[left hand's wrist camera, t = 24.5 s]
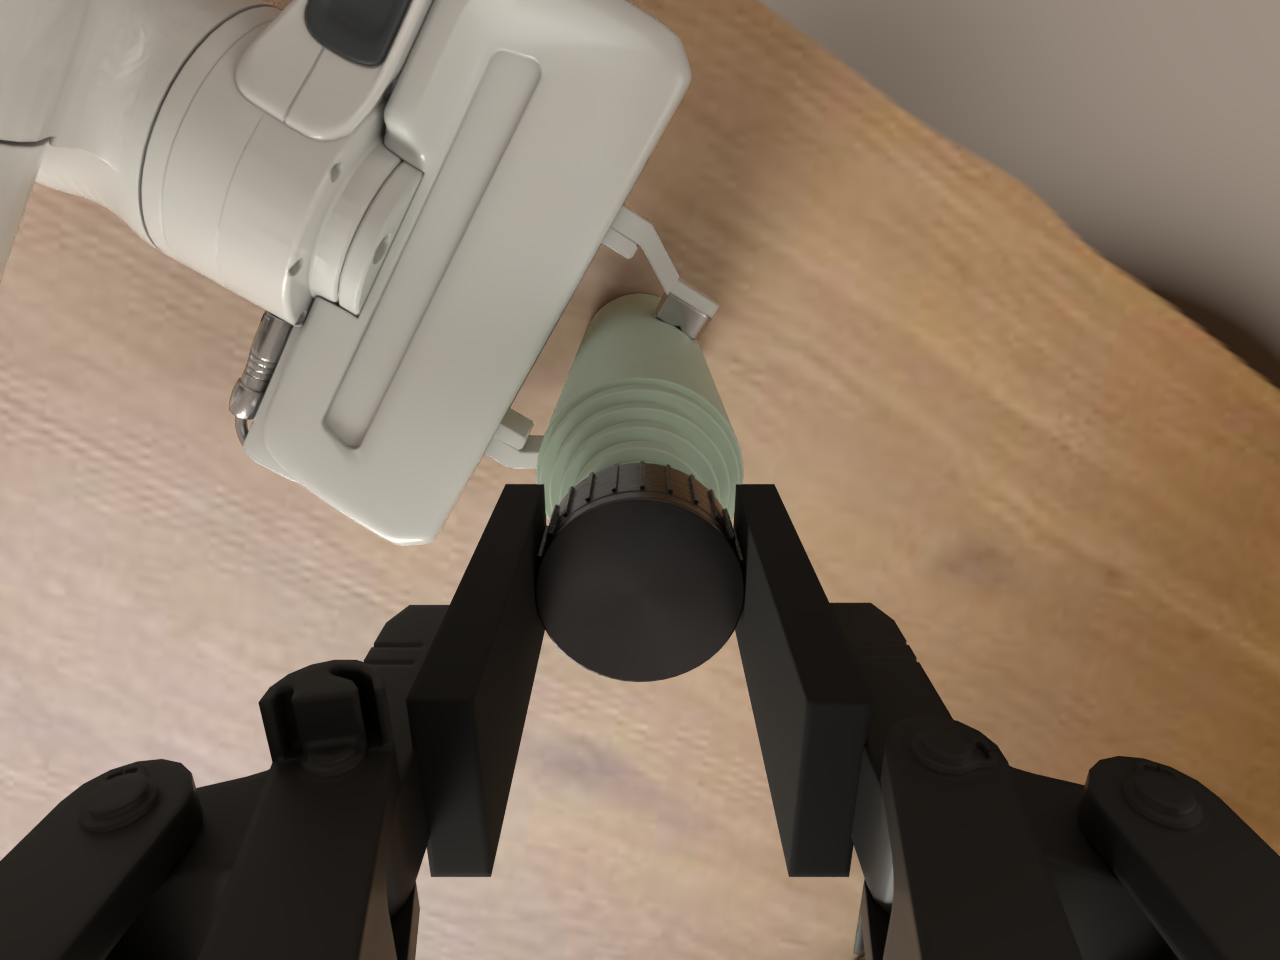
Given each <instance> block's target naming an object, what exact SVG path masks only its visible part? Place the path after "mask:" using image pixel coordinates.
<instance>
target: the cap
mask: <svg viewBox="0 0 1280 960" xmlns="http://www.w3.org/2000/svg"><path fill="white" fill-rule="evenodd" d="M537 559H539V560H540V561H539V564H538V568H537V573H536V578H535V600H536V606H537V610H538V614H539V617H540V619H541V622H542V624H543V626H544V628H545V630H546V631H547V633H548V635H549V636H550V638H551V639H552V641H553V642H554V643H555V644H556V646H557V647H558V648H559V649H560V650H561V651H562V652H563V653H564V654H565V655H566V656H568V657H569V658H570V659H572V660H573V661H574V662H576V663H577V664H579V665H580V666H582V667H584V668H586V669H587V670H590V671H592V672H594V673H596V674H599V675H602V676H605V677H608V678H612V679H617V680H622V681H633V682H648V681H657V680H664V679H668V678H671V677H675V676H678V675H681V674H683V673H686V672H688V671H690V670H692V669H694V668H696V667H698V666H700V665H701V664H703V663H704V662H706V661H707V660H709V659H710V658H711V657H712V656H713V655H714V654H716V653H717V652H718V651H719V650H720V649H721V648H722V647H723V645H724V644H725V643H726V642H727V641H728V639H729V638H730V636H731V635H732V633H733V632H734V630H735V628H736V626H737V624H738V622H739V620H740V617H741V613H742V610H743V606H744V600H745V579H744V572H743V568H742V565H741V564H743V563H744V559H743V556H742V552H741V549H740V545H739V542H738V538H737V535H736V531H735V530H733V527H732V523H731V520H730V516H729V513H728V510H727V508H725V509H723V507H722V505H721V504H720V502H719V501H718V499H717V498H716V497H715V494H714V491H713V490H712V489H710V490H709V489H707V488H706V487H705V486H704V485H703V484H702V483H700V482H699V481H697V480H696V479H695V476H694V475H692V474H690V475H688V474H686V473H684V472H682V471H680V470H677V469H674V468H671V465H668V464H666V466H663V465H659V464H652V463H645V461H640V463H628V464H621V465H619V464H618V463H616V464H614V466H613V467H609V468H606V469H603V470H601V471H599V472H596V473H594V472H591V473H590V474H589V477H587V478H585V479H584V480H582V481H581V482H580V483H578V484H577V485H576V486H575V487H573V486H571V487H570V488H569V491H568V494H567V495H566V496H565V497H564V498H563V500H562V501H561V502H560V504H559V505H557V504H556V505H555V506H554V509H553V513H552V516H551V520H550V524H549V526H546V527H545V531H544V534H543V538H542V541H541V545H540V548H539V552H538V555H537Z"/></svg>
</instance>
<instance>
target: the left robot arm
mask: <svg viewBox="0 0 1280 960" xmlns="http://www.w3.org/2000/svg"><path fill="white" fill-rule="evenodd" d="M545 527H546V510H545V491H544V484H506V485H505V487H504V489H503V491H502V493H501V496H500V498H499V500H498V502H497V504H496V506H495V509H494V511H493V513H492V515H491V517H490V519H489V521H488V524H487V526H486V528H485V530H484V532H483V534H482V537H481V539H480V541H479V543H478V545H477V547H476V550H475V552H474V554H473V556H472V558H471V560H470V562H469V565H468V567H467V569H466V571H465V573H464V575H463V578H462V580H461V582H460V584H459V586H458V588H457V591H456V593H455V595H454V597H453V599H452V601H451V603H450V605H409V606H408V607H406V608H405V609H404V610H402V611H401V612H400V613H398V614H397V615H396V616H394V617H393V618H392V619H391V620H389V621H388V622H387V623H386V624H385V626H384V627H383V629H382V631H381V632H380V634H379V636H378V637H377V639H376V641H375V643H374V647H372V648H371V649H370V651H369V653H368V654H367V656H366V658H365V659H364V662H361V661H358V660H332V661H327V662H322V663H317V664H313V665H309V666H307V667H305V668H302V669H300V670H298V671H295V672H293V673H290V674H288V675H287V676H285V677H284V678H283V679H281V680H280V681H278V682H277V683H275V684H274V685H273V686H271V687H270V688H269V689H268V691H267V692H266V693H265V695H264V696H263V697H262V698H261V700H260V701H259V706H260V711H261V715H262V719H263V723H264V728H265V732H266V736H267V741H268V745H269V749H270V753H271V758H272V762H273V763H272V765H271V768H270V769H269V770H267V771H264V772H261V773H257V774H254V775H251V776H247V777H243V778H239V779H235V780H230V781H226V782H221V783H217V784H213V785H208V786H204V787H200V788H196V787H195V783H194V780H193V776H192V773H191V772H190V771H189V770H188V769H187V768H186V767H185V766H184V765H182V764H181V763H178V762H174V761H169V760H164V759H158V760H148V761H138V762H135V763H131V764H128V765H125V766H122V767H119V768H115V769H112V770H110V771H108V772H106V773H104V774H102V775H100V776H98V777H96V778H94V779H92V780H90V781H88V782H86V783H85V784H83V785H82V786H80V787H79V788H78V789H76V790H75V791H74V792H73V793H71V794H70V795H69V796H68V797H66V798H65V799H64V800H62V801H61V802H60V803H59V804H58V805H57V806H56V807H55V808H54V809H53V810H52V811H51V812H50V813H49V814H48V815H47V816H46V817H45V818H44V819H43V820H42V821H41V822H40V823H39V824H38V825H37V826H36V827H35V828H34V829H33V830H32V831H31V832H30V833H29V834H28V835H26V836H25V837H24V838H23V839H22V840H21V841H20V842H19V843H18V844H17V845H16V846H15V847H14V848H13V849H12V850H11V851H10V852H9V853H8V854H7V855H6V856H5V857H4V858H3V859H2V860H1V861H0V960H415V954H416V944H417V933H418V923H419V912H420V907H419V900H418V893H417V886H416V878H417V875H418V872H419V869H420V866H421V863H422V860H423V857H424V853H425V850H426V847H427V852H428V859H429V866H430V872H431V877H491V874H492V870H493V865H494V860H495V856H496V851H497V847H498V842H499V838H500V833H501V828H502V824H503V819H504V815H505V810H506V805H507V801H508V796H509V792H510V787H511V783H512V778H513V773H514V769H515V764H516V760H517V755H518V751H519V746H520V741H521V737H522V732H523V728H524V723H525V719H526V714H527V709H528V705H529V700H530V696H531V691H532V687H533V682H534V677H535V673H536V668H537V664H538V659H539V654H540V650H541V645H542V641H543V636H544V632H545V628H544V626H543V624H542V622H541V619H540V617H539V614H538V610H537V606H536V600H535V578H536V573H537V568H538V564H539V561H540V560H539V559H537V555H538V552H539V548H540V545H541V541H542V538H543V534H544V531H545ZM733 530H735V531H736V535H737V538H738V542H739V545H740V549H741V552H742V556H743V559H744V563H743V564H741V565H742V568H743V572H744V579H745V600H744V606H743V610H742V613H741V617H740V620H739V622H738V624H737V626H736V628H735V632H736V636H737V641H738V645H739V650H740V654H741V659H742V664H743V668H744V673H745V677H746V682H747V687H748V691H749V696H750V700H751V705H752V709H753V714H754V719H755V723H756V728H757V732H758V737H759V741H760V746H761V751H762V755H763V760H764V764H765V769H766V773H767V778H768V783H769V787H770V792H771V796H772V801H773V806H774V810H775V815H776V819H777V824H778V828H779V833H780V838H781V842H782V847H783V851H784V856H785V860H786V865H787V870H788V874H789V877H849V872H850V865H851V859H852V852H853V845H854V847H855V850H856V853H857V856H858V859H859V862H860V865H861V868H862V871H863V874H864V877H865V880H864V886H863V893H862V899H861V906H860V912H859V919H858V925H857V931H856V938H855V945H854V952H853V953H856V954H862V955H863V951H864V952H865V955H864V956H863V957H861V958H860V959H859V960H1280V856H1279V855H1278V854H1277V853H1276V852H1275V851H1274V850H1273V849H1272V848H1271V847H1270V846H1268V845H1267V844H1266V843H1265V842H1264V841H1263V840H1262V839H1261V838H1260V837H1259V836H1258V835H1257V834H1256V833H1255V832H1254V831H1253V830H1252V829H1251V828H1250V827H1249V826H1248V825H1247V824H1246V823H1245V822H1244V821H1243V820H1242V819H1241V818H1240V817H1239V816H1238V815H1237V814H1236V813H1235V812H1234V811H1233V810H1232V809H1231V808H1230V807H1229V806H1228V805H1227V804H1226V803H1224V802H1223V801H1222V800H1221V799H1220V798H1219V797H1218V796H1216V795H1215V794H1214V793H1213V792H1211V791H1210V790H1209V789H1207V788H1206V787H1205V786H1204V785H1202V784H1201V783H1200V782H1198V781H1197V780H1195V779H1193V778H1191V777H1189V776H1187V775H1185V774H1183V773H1181V772H1179V771H1177V770H1176V769H1174V768H1172V767H1169V766H1166V765H1163V764H1160V763H1156V762H1153V761H1150V760H1147V759H1143V758H1134V757H1124V756H1116V757H1112V758H1107V759H1102V760H1099V761H1098V762H1097V763H1096V764H1095V765H1094V766H1093V767H1092V768H1091V769H1090V770H1089V773H1088V776H1087V780H1086V783H1085V785H1081V784H1076V783H1072V782H1068V781H1063V780H1059V779H1054V778H1050V777H1046V776H1041V775H1037V774H1033V773H1030V772H1026V771H1023V770H1020V769H1016V768H1013V767H1011V766H1009V764H1008V761H1007V760H1006V758H1005V757H1004V755H1003V754H1002V752H1001V751H1000V749H999V748H998V746H997V745H996V744H995V743H993V742H992V741H991V740H990V739H988V738H987V737H986V736H985V735H983V734H982V733H981V732H980V731H978V730H976V729H974V728H971V727H969V726H967V725H965V724H963V723H961V722H959V721H956V720H953V718H952V717H951V715H950V713H949V712H948V710H947V708H946V707H945V705H944V703H943V702H942V700H941V698H940V697H939V695H938V693H937V691H936V690H935V688H934V686H933V685H932V683H931V681H930V680H929V678H928V676H927V675H926V673H925V671H924V670H923V668H922V666H921V665H920V663H919V662H917V660H916V656H915V655H914V653H913V651H912V650H911V648H910V646H909V645H907V644H906V640H905V638H904V636H903V635H902V633H901V631H900V629H899V628H898V626H897V624H896V623H895V621H894V620H893V619H892V618H890V617H889V616H888V615H886V614H885V613H884V612H882V611H881V610H880V609H878V608H877V607H876V606H874V605H873V604H872V603H829V601H828V599H827V597H826V595H825V593H824V591H823V588H822V586H821V584H820V582H819V580H818V578H817V575H816V573H815V571H814V569H813V567H812V565H811V562H810V560H809V558H808V556H807V554H806V552H805V550H804V547H803V545H802V543H801V541H800V539H799V537H798V534H797V532H796V530H795V528H794V526H793V524H792V521H791V519H790V517H789V515H788V513H787V511H786V509H785V506H784V504H783V502H782V500H781V498H780V496H779V493H778V491H777V489H776V487H775V485H774V484H736V490H735V510H734V529H733Z"/></svg>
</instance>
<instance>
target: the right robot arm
mask: <svg viewBox="0 0 1280 960" xmlns="http://www.w3.org/2000/svg"><path fill="white" fill-rule="evenodd" d="M691 79H692V74H691V69H690V65H689V61H688V57H687V53H686V50H685V47H684V45H683V42H682V41H681V39H680V38H679V37H678V36H677V34H676V33H674V32H673V31H672V30H671V29H670V28H668V27H667V26H665V25H664V24H663V23H661V22H660V21H658V20H657V19H656V18H654V17H653V16H651V15H649V14H648V13H646V12H645V11H643V10H641V9H640V8H638V7H637V6H635V5H633V4H632V3H630V2H629V1H627V0H292V1H291V2H290V3H289V4H288V5H287V6H286V7H285V8H284V9H283V10H282V9H280V8H278V7H277V6H275V5H273V4H271V3H269V2H267V1H265V0H0V282H1V279H2V276H3V273H4V270H5V267H6V265H7V262H8V259H9V256H10V253H11V250H12V247H13V244H14V241H15V238H16V235H17V232H18V229H19V226H20V224H21V221H22V218H23V215H24V212H25V209H26V206H27V203H28V200H29V197H30V194H31V191H32V188H33V185H34V183H35V182H37V183H39V184H41V185H44V186H46V187H49V188H52V189H55V190H59V191H62V192H66V193H70V194H74V195H78V196H81V197H84V198H87V199H90V200H92V201H94V202H96V203H98V204H100V205H102V206H103V207H105V208H107V209H109V210H110V211H112V212H113V213H114V214H116V215H117V216H118V217H119V218H120V219H122V220H123V221H124V222H125V223H126V224H127V225H128V226H129V227H130V228H131V229H132V230H133V231H134V232H135V233H136V234H137V235H138V236H139V237H141V238H142V239H143V240H144V241H145V242H146V243H148V244H149V245H151V246H152V247H154V248H156V249H157V250H159V251H160V252H162V253H164V254H165V255H168V256H170V257H171V258H173V259H175V260H177V261H179V262H180V263H182V264H184V265H186V266H187V267H189V268H191V269H193V270H195V271H196V272H198V273H200V274H202V275H204V276H205V277H207V278H209V279H211V280H213V281H215V282H216V283H218V284H220V285H222V286H224V287H225V288H227V289H229V290H231V291H233V292H234V293H236V294H238V295H239V296H241V297H243V298H245V299H247V300H248V301H250V302H252V303H254V304H256V305H258V306H259V307H261V308H263V309H265V312H264V314H263V317H262V319H261V323H260V325H259V328H258V330H257V332H256V335H255V337H254V340H253V343H252V346H251V349H250V353H249V358H248V361H247V364H246V367H245V370H244V372H243V375H242V377H241V378H239V379H238V381H237V382H236V384H235V386H234V388H233V391H232V394H231V397H230V402H229V411H230V412H231V413H232V414H233V415H235V428H236V432H237V435H238V438H239V440H240V442H241V444H242V445H243V450H244V452H245V453H246V454H247V455H248V457H250V458H251V459H252V460H254V461H255V462H256V463H258V464H260V465H262V466H264V467H266V468H268V469H269V470H271V471H273V472H275V473H277V474H279V475H281V476H283V477H285V478H287V479H289V480H292V481H295V482H298V483H300V484H301V485H302V486H304V487H305V488H306V489H308V490H309V491H311V492H312V493H313V494H315V495H316V496H318V497H319V498H320V499H322V500H323V501H325V502H326V503H328V504H329V505H330V506H332V507H333V508H335V509H336V510H338V511H340V512H341V513H343V514H344V515H346V516H347V517H349V518H350V519H352V520H353V521H355V522H357V523H358V524H360V525H362V526H363V527H365V528H366V529H368V530H370V531H372V532H373V533H375V534H377V535H378V536H380V537H382V538H384V539H386V540H388V541H390V542H391V543H394V544H396V545H399V546H411V545H421V544H428V543H431V542H433V541H434V540H435V539H436V537H437V536H438V534H439V533H440V531H441V529H442V528H443V526H444V524H445V523H446V521H447V519H448V517H449V516H450V514H451V512H452V510H453V508H454V507H455V505H456V503H457V501H458V499H459V498H460V496H461V494H462V492H463V491H464V489H465V487H466V485H467V483H468V482H469V480H470V478H471V476H472V474H473V473H474V471H475V469H476V467H477V465H478V464H479V462H480V460H481V458H482V456H483V455H484V454H485V455H487V456H489V457H491V458H492V459H494V460H496V461H498V462H500V463H502V464H503V465H505V466H507V467H509V468H511V469H536V468H537V460H538V454H539V450H540V447H541V443H542V441H543V438H544V436H537V435H529V434H530V432H531V430H532V428H533V425H534V424H533V421H532V420H530V419H528V418H526V417H525V416H523V415H521V414H519V413H518V412H516V411H514V410H513V409H511V408H510V406H511V405H512V403H513V401H514V399H515V397H516V396H517V394H518V392H519V390H520V388H521V387H522V385H523V383H524V381H525V380H526V378H527V376H528V374H529V372H530V371H531V369H532V367H533V365H534V363H535V362H536V360H537V358H538V356H539V354H540V353H541V351H542V349H543V347H544V346H545V344H546V342H547V340H548V338H549V337H550V335H551V333H552V331H553V329H554V328H555V326H556V324H557V322H558V321H559V319H560V317H561V315H562V313H563V312H564V310H565V308H566V306H567V304H568V303H569V301H570V299H571V297H572V296H573V294H574V292H575V290H576V288H577V287H578V285H579V283H580V281H581V279H582V278H583V276H584V274H585V272H586V270H587V269H588V267H589V265H590V263H591V262H592V260H593V258H594V256H595V254H596V253H597V251H598V249H599V247H600V245H601V244H602V243H603V244H604V245H606V246H607V247H609V248H611V249H612V250H614V251H616V252H617V253H619V254H620V255H622V256H624V257H625V258H627V259H629V258H632V257H633V256H634V254H635V252H636V250H637V249H638V245H640V246H641V248H642V250H643V252H644V254H645V255H646V257H647V259H648V261H649V263H650V265H651V267H652V269H653V270H654V272H655V274H656V276H657V278H658V280H659V282H660V283H661V285H662V287H663V289H664V291H665V293H664V295H663V297H662V298H661V300H660V302H659V304H658V305H657V307H656V309H655V312H656V317H658V318H659V319H661V320H662V321H664V322H666V323H667V324H670V325H672V326H680V328H681V330H682V332H683V333H684V334H686V335H687V336H688V337H690V338H692V339H694V340H698V339H699V337H700V336H701V334H702V333H703V331H704V330H705V328H706V326H707V325H708V323H709V322H710V320H711V319H712V317H713V316H714V314H715V312H716V311H717V309H718V308H719V305H718V303H717V302H716V301H715V300H713V299H712V298H711V297H709V296H708V295H706V294H705V293H703V292H702V291H700V290H698V289H697V288H695V287H694V286H692V285H691V284H689V283H687V282H686V281H684V280H683V279H681V278H680V277H679V275H678V273H677V271H676V269H675V267H674V265H673V263H672V261H671V259H670V257H669V255H668V254H667V252H666V250H665V248H664V246H663V244H662V242H661V240H660V238H659V236H658V234H657V232H656V230H655V229H654V227H653V225H652V223H651V222H650V221H648V220H647V219H645V218H644V217H642V216H641V215H639V214H638V213H636V212H635V211H633V210H631V209H630V208H628V207H627V206H625V205H624V203H625V201H626V199H627V197H628V195H629V194H630V192H631V190H632V188H633V186H634V185H635V183H636V181H637V179H638V178H639V176H640V174H641V172H642V170H643V169H644V167H645V165H646V163H647V161H648V160H649V158H650V156H651V155H652V153H653V151H654V149H655V147H656V146H657V144H658V142H659V140H660V139H661V137H662V135H663V133H664V131H665V130H666V128H667V126H668V124H669V122H670V121H671V119H672V117H673V115H674V113H675V112H676V110H677V108H678V106H679V104H680V103H681V101H682V99H683V97H684V96H685V94H686V92H687V90H688V88H689V86H690V83H691ZM250 419H254V420H253V422H252V424H251V427H250V429H249V431H248V428H247V420H250Z"/></svg>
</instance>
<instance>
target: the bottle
mask: <svg viewBox="0 0 1280 960" xmlns="http://www.w3.org/2000/svg"><path fill="white" fill-rule="evenodd" d="M660 300H661V297H658V296H655V295H651V294H643V293H636V294H628V295H624V296H621V297H618V298H616V299H614V300H612V301H610V302H609V303H607V304H606V305H604V306H603V307H602V308H601V309H600V310H599V311H598V312H597V313H596V314H595V315H594V317H593V318H592V320H591V321H590V323H589V325H588V327H587V329H586V332H585V334H584V337H583V339H582V342H581V344H580V347H579V350H578V352H577V355H576V357H575V360H574V362H573V365H572V367H571V370H570V372H569V375H568V377H567V380H566V382H565V385H564V388H563V390H562V393H561V395H560V398H559V400H558V403H557V405H556V408H555V410H554V413H553V415H552V418H551V420H550V423H549V426H548V428H547V431H546V433H545V436H544V438H543V441H542V443H541V447H540V450H539V454H538V460H537V468H536V474H537V484H544V491H545V510H546V515H547V517H548V520H549V522H550V520H551V516H552V513H553V509H554V506H555V505H556V504H557V505H559V504H560V502H561V501H562V500H563V498H564V497H565V496H566V495H567V494H568V491H569V488H570V487H571V486H573V487H575V486H576V485H577V484H578V483H580V482H581V481H582V480H584V479H585V478H587V477H589V474H590V473H591V472H594V473H596V472H599V471H601V470H603V469H606V468H609V467H613V466H614V464H616V463H618V464H619V465H621V464H628V463H640V461H645V463H652V464H659V465H663V466H666V464H668V465H671V468H674V469H677V470H680V471H682V472H684V473H686V474H688V475H690V474H692V475H694V476H695V479H696V480H697V481H699V482H700V483H702V484H703V485H704V486H705V487H706V488H707V489H709V490H710V489H712V490H713V491H714V494H715V497H716V498H717V499H718V501H719V502H720V504H721V505H722V507H723V509H725V508H727V510H728V513H729V516H730V520H731V519H732V517H733V515H734V510H735V490H736V484H743V461H742V456H741V451H740V447H739V444H738V442H737V439H736V436H735V434H734V431H733V429H732V426H731V423H730V421H729V418H728V416H727V413H726V411H725V408H724V406H723V403H722V401H721V398H720V396H719V393H718V391H717V388H716V386H715V383H714V381H713V378H712V376H711V373H710V371H709V368H708V366H707V363H706V361H705V358H704V356H703V353H702V350H701V348H700V345H699V343H698V340H694V339H692V338H690V337H688V336H687V335H686V334H684V333H683V332H682V330H681V328H680V326H672V325H670V324H667V323H666V322H664V321H662V320H661V319H659V318H658V317H656V312H655V309H656V307H657V305H658V304H659V302H660Z"/></svg>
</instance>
